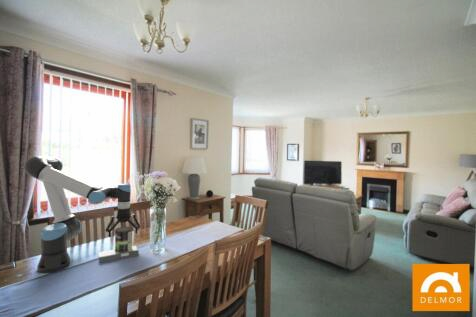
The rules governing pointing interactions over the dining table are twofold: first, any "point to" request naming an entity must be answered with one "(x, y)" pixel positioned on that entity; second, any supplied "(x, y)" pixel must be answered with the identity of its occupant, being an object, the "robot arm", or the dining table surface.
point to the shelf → (117, 254)
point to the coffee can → (123, 239)
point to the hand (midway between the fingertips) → (123, 240)
